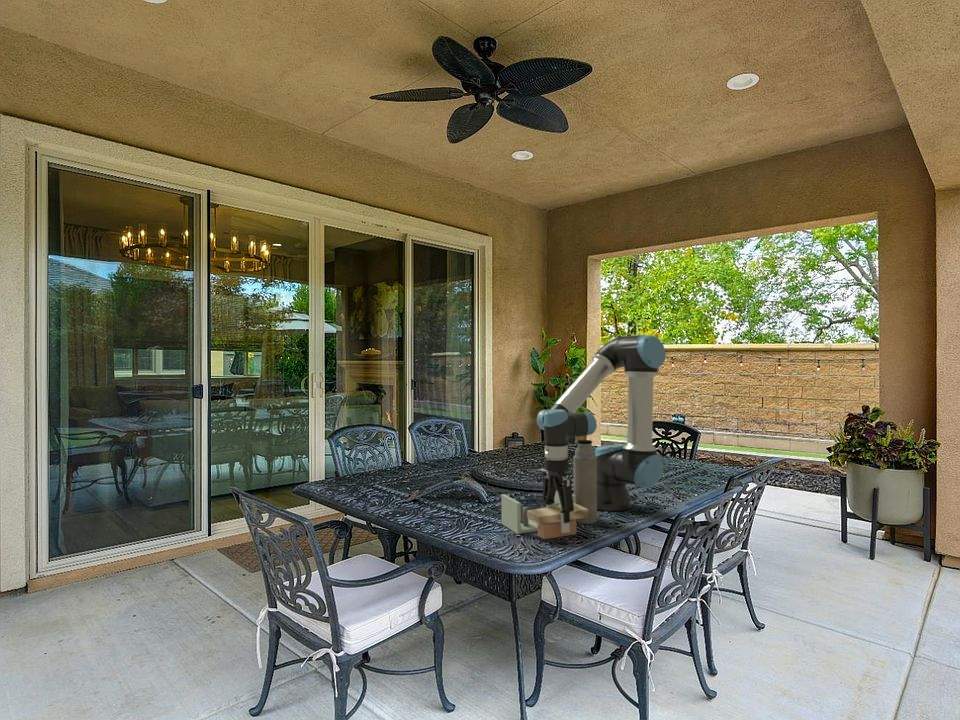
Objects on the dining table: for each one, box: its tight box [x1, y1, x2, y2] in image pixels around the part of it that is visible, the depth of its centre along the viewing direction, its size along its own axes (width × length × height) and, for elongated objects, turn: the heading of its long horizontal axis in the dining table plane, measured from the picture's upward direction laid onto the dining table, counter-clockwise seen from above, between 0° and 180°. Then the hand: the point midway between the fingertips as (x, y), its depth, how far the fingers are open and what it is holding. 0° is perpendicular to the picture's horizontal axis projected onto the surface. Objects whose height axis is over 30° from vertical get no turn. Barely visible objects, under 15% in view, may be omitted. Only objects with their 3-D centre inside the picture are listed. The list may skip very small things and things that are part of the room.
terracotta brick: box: [537, 519, 577, 540], centre depth 175 cm, size 12×4×4 cm, turn 113°
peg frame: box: [500, 491, 576, 535], centre depth 186 cm, size 22×12×10 cm, turn 113°
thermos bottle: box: [572, 439, 598, 525], centre depth 190 cm, size 8×8×28 cm
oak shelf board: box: [527, 503, 588, 525], centre depth 175 cm, size 18×8×2 cm, turn 113°
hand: (558, 528), depth 175 cm, fingers closed on oak shelf board, 8 cm apart
